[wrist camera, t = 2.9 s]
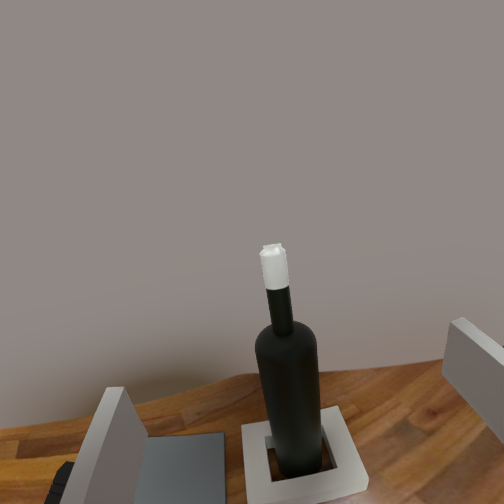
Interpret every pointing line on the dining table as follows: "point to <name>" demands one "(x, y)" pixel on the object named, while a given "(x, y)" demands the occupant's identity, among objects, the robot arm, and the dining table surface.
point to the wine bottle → (289, 374)
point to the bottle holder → (311, 486)
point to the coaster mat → (183, 470)
